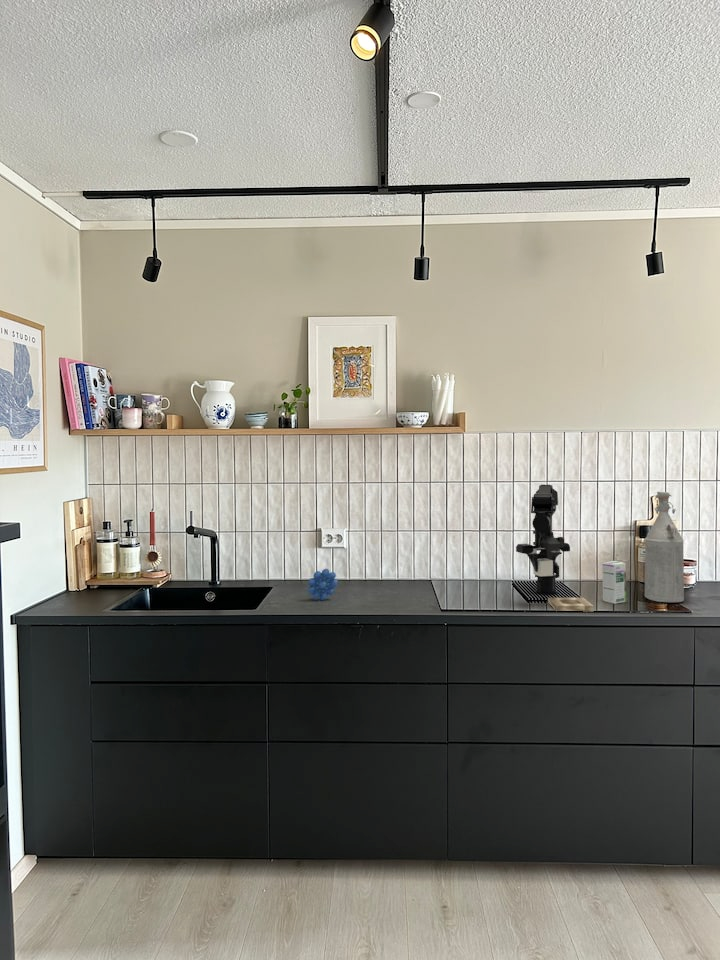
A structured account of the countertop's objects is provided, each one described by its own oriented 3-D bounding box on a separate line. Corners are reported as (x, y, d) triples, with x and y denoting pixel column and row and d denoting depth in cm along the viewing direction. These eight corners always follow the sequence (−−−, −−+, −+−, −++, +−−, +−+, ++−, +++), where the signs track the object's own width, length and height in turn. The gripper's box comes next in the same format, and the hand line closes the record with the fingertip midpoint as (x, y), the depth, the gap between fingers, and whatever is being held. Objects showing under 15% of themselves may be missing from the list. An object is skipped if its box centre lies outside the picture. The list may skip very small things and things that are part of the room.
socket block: (582, 603, 228) (582, 597, 228) (593, 611, 216) (593, 605, 216) (548, 603, 229) (547, 597, 229) (556, 611, 217) (556, 605, 217)
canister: (654, 604, 224) (654, 493, 223) (638, 594, 242) (638, 490, 240) (692, 604, 223) (692, 492, 222) (673, 594, 240) (673, 490, 239)
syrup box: (615, 604, 226) (615, 563, 225) (602, 601, 231) (602, 561, 231) (626, 602, 229) (626, 562, 228) (613, 599, 234) (613, 560, 233)
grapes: (337, 597, 245) (337, 566, 244) (338, 601, 238) (338, 569, 238) (307, 598, 244) (306, 567, 243) (307, 602, 237) (307, 570, 237)
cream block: (545, 573, 232) (545, 557, 232) (552, 575, 227) (552, 559, 227) (533, 574, 231) (533, 558, 231) (540, 576, 226) (540, 560, 226)
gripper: (529, 532, 218) (530, 576, 219) (578, 529, 223) (578, 573, 223) (515, 528, 229) (515, 571, 230) (561, 526, 233) (561, 568, 234)
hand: (543, 571), depth 229 cm, fingers closed on cream block, 5 cm apart
